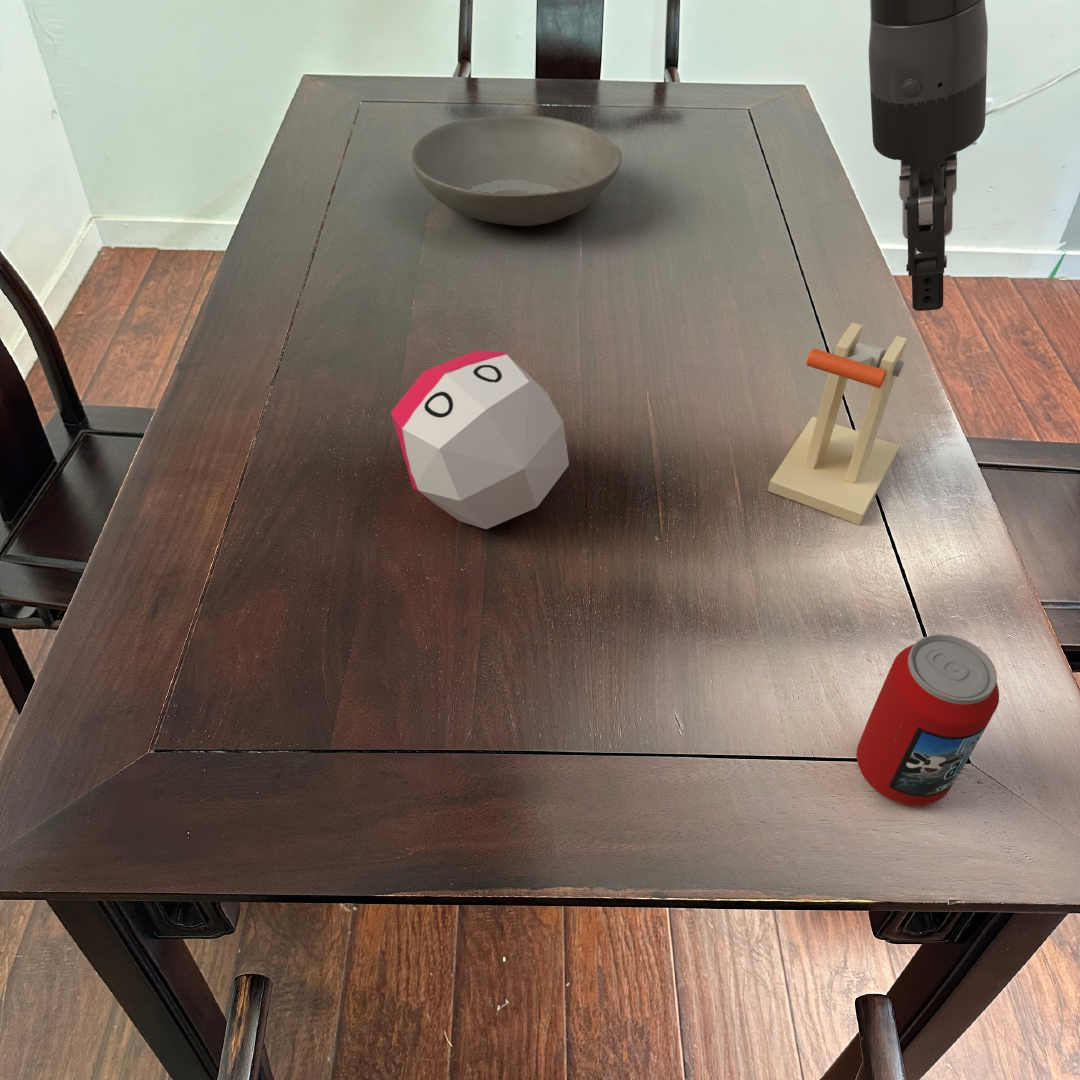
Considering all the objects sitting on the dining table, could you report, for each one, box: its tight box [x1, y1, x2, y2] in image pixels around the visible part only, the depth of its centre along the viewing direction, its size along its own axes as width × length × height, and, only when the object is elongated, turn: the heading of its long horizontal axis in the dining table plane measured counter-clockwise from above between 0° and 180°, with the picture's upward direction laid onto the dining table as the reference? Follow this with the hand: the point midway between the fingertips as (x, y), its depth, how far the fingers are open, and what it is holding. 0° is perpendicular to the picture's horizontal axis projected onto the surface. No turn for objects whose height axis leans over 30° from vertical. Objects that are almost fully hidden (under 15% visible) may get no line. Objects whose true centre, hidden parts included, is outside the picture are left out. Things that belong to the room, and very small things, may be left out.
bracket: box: [767, 322, 908, 526], centre depth 89 cm, size 12×9×15 cm
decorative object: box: [390, 350, 570, 530], centre depth 86 cm, size 15×15×15 cm
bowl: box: [410, 114, 623, 227], centre depth 131 cm, size 27×28×8 cm
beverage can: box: [856, 634, 1000, 807], centre depth 65 cm, size 7×7×12 cm
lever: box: [806, 341, 887, 388], centre depth 81 cm, size 12×6×2 cm, turn 149°
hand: (929, 277), depth 77 cm, fingers open, 8 cm apart
